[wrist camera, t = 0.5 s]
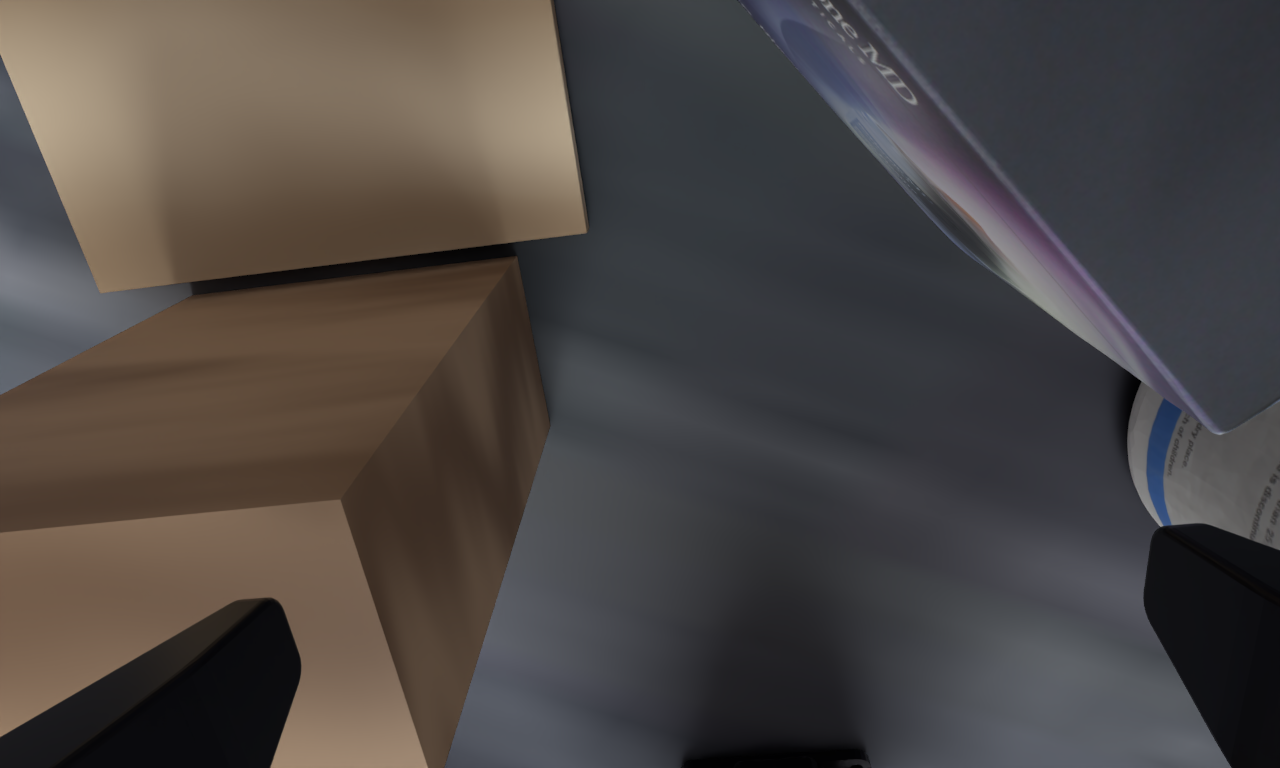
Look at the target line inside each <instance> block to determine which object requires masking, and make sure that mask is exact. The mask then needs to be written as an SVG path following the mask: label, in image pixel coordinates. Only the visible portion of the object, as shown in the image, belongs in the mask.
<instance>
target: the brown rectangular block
mask: <svg viewBox="0 0 1280 768" xmlns="http://www.w3.org/2000/svg"><path fill="white" fill-rule="evenodd" d="M549 429H550V421H549V416H548V411H547V406H546V401H545V396H544V391H543V386H542V380H541V375H540V370H539V365H538V360H537V355H536V350H535V345H534V340H533V334H532V329H531V324H530V319H529V314H528V309H527V304H526V299H525V294H524V288H523V283H522V278H521V273H520V268H519V263H518V258H517V256H511V257H503V258H495V259H487V260H478V261H470V262H462V263H454V264H446V265H437V266H429V267H421V268H413V269H405V270H396V271H388V272H380V273H372V274H364V275H355V276H347V277H339V278H331V279H323V280H314V281H306V282H298V283H290V284H281V285H273V286H265V287H257V288H249V289H240V290H232V291H224V292H216V293H208V294H199V295H192V296H190V297H188V298H187V299H185V300H183V301H181V302H179V303H177V304H175V305H173V306H171V307H169V308H167V309H165V310H163V311H162V312H160V313H158V314H156V315H154V316H152V317H150V318H148V319H146V320H144V321H142V322H140V323H138V324H136V325H135V326H133V327H131V328H129V329H127V330H125V331H123V332H121V333H119V334H117V335H115V336H113V337H111V338H110V339H108V340H106V341H104V342H102V343H100V344H98V345H96V346H94V347H92V348H90V349H88V350H86V351H85V352H83V353H81V354H79V355H77V356H75V357H73V358H71V359H69V360H67V361H65V362H63V363H61V364H60V365H58V366H56V367H54V368H52V369H50V370H48V371H46V372H44V373H42V374H40V375H38V376H36V377H34V378H33V379H31V380H29V381H27V382H25V383H23V384H21V385H19V386H17V387H15V388H13V389H11V390H9V391H8V392H6V393H4V394H2V395H0V737H1V736H3V735H4V734H6V733H8V732H10V731H11V730H13V729H15V728H16V727H18V726H20V725H22V724H23V723H25V722H27V721H28V720H30V719H32V718H34V717H35V716H37V715H39V714H41V713H42V712H44V711H46V710H47V709H49V708H51V707H53V706H54V705H56V704H58V703H59V702H61V701H63V700H65V699H66V698H68V697H70V696H72V695H73V694H75V693H77V692H78V691H80V690H82V689H84V688H85V687H87V686H89V685H90V684H92V683H94V682H96V681H97V680H99V679H101V678H103V677H104V676H106V675H108V674H109V673H111V672H113V671H115V670H116V669H118V668H120V667H121V666H123V665H125V664H127V663H128V662H130V661H132V660H133V659H135V658H137V657H139V656H140V655H142V654H144V653H146V652H147V651H149V650H151V649H152V648H154V647H156V646H158V645H159V644H161V643H163V642H164V641H166V640H168V639H170V638H171V637H173V636H175V635H177V634H178V633H180V632H182V631H183V630H185V629H187V628H189V627H190V626H192V625H194V624H195V623H197V622H199V621H201V620H202V619H204V618H206V617H207V616H209V615H211V614H213V613H214V612H216V611H218V610H220V609H221V608H223V607H225V606H226V605H228V604H230V603H232V602H234V601H237V600H240V599H253V598H265V597H272V598H274V599H276V600H278V601H279V602H280V604H281V605H282V607H283V609H284V611H285V614H286V617H287V620H288V623H289V626H290V628H291V631H292V634H293V637H294V640H295V643H296V645H297V648H298V651H299V654H300V658H301V665H302V667H301V678H300V682H299V685H298V688H297V691H296V694H295V697H294V700H293V703H292V706H291V709H290V712H289V715H288V718H287V721H286V724H285V727H284V730H283V733H282V735H281V738H280V741H279V744H278V747H277V750H276V753H275V756H274V759H273V762H272V765H271V768H444V767H445V763H446V760H447V757H448V754H449V751H450V747H451V744H452V741H453V738H454V734H455V731H456V728H457V725H458V722H459V718H460V715H461V712H462V709H463V706H464V702H465V699H466V696H467V693H468V689H469V686H470V683H471V680H472V677H473V673H474V670H475V667H476V664H477V660H478V657H479V654H480V651H481V648H482V644H483V641H484V638H485V635H486V631H487V628H488V625H489V622H490V619H491V615H492V612H493V609H494V606H495V602H496V599H497V596H498V593H499V590H500V586H501V583H502V580H503V577H504V573H505V570H506V567H507V564H508V561H509V557H510V554H511V551H512V548H513V545H514V541H515V538H516V535H517V532H518V528H519V525H520V522H521V519H522V516H523V512H524V509H525V506H526V503H527V499H528V496H529V493H530V490H531V487H532V483H533V480H534V477H535V474H536V470H537V467H538V464H539V461H540V458H541V454H542V451H543V448H544V445H545V441H546V438H547V435H548V432H549Z"/></svg>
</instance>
